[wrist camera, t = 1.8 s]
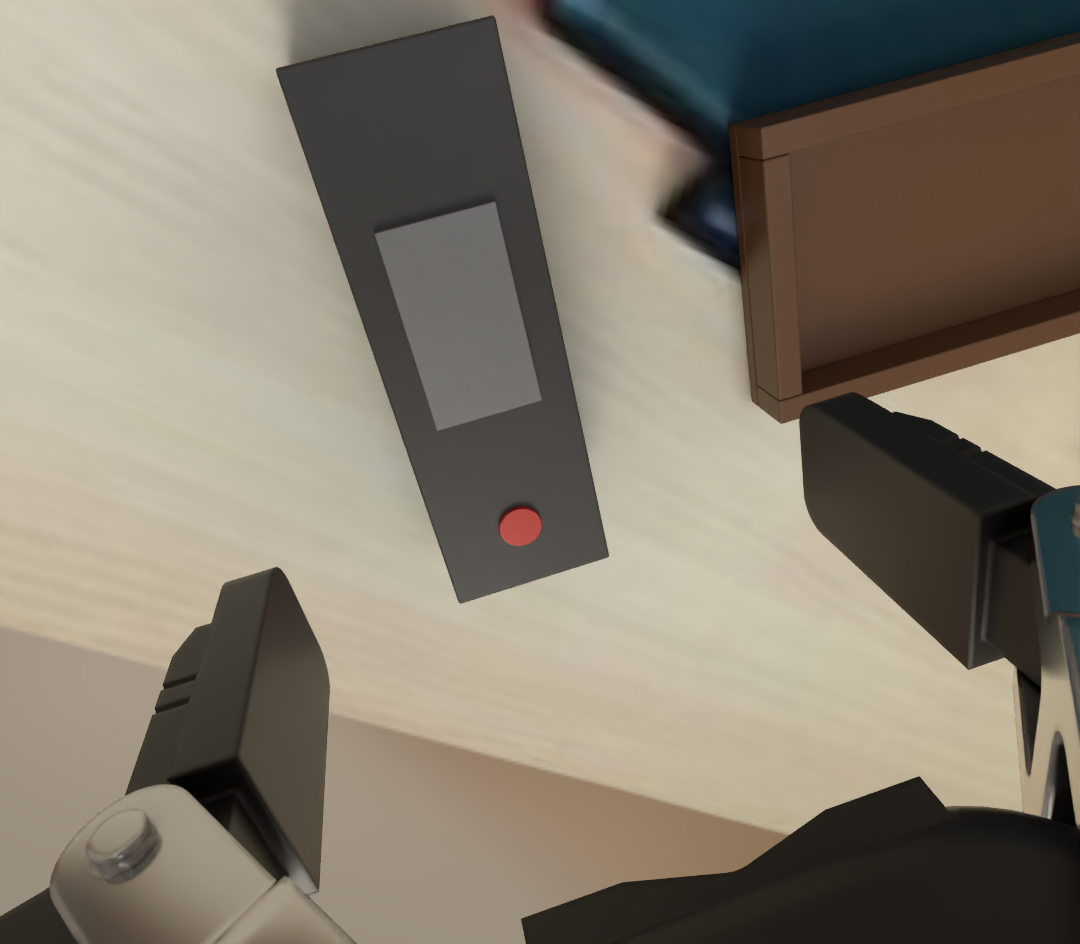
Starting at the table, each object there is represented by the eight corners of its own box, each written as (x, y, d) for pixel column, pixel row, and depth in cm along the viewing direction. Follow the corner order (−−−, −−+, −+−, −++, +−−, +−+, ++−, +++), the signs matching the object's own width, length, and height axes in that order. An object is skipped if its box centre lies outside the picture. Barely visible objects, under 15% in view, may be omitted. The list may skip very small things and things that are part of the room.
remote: (289, 73, 18) (273, 68, 15) (472, 28, 19) (496, 14, 15) (446, 540, 25) (460, 607, 22) (578, 499, 25) (611, 560, 22)
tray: (727, 124, 21) (760, 127, 19) (1306, -29, 22) (1385, -39, 21) (751, 402, 25) (780, 424, 23) (1239, 255, 27) (1301, 266, 25)
